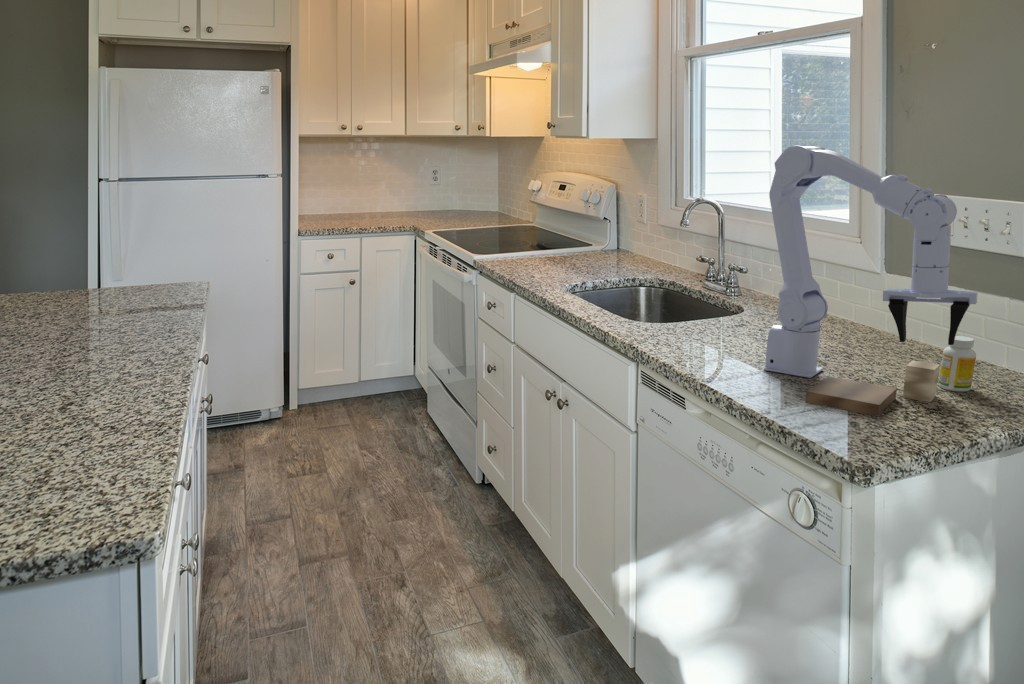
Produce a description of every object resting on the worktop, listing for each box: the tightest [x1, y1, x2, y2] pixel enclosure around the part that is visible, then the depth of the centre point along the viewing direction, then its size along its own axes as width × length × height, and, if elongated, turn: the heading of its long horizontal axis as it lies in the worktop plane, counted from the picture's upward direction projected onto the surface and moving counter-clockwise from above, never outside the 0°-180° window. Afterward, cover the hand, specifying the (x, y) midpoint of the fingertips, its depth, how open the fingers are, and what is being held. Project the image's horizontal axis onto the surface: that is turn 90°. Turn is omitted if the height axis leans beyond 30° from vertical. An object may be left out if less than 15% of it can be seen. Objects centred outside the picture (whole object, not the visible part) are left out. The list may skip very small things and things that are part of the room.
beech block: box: [902, 360, 941, 403], centre depth 140 cm, size 4×4×6 cm
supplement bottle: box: [938, 335, 977, 393], centre depth 145 cm, size 5×5×10 cm
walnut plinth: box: [805, 376, 898, 417], centre depth 138 cm, size 12×12×2 cm
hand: (926, 342), depth 138 cm, fingers open, 7 cm apart
